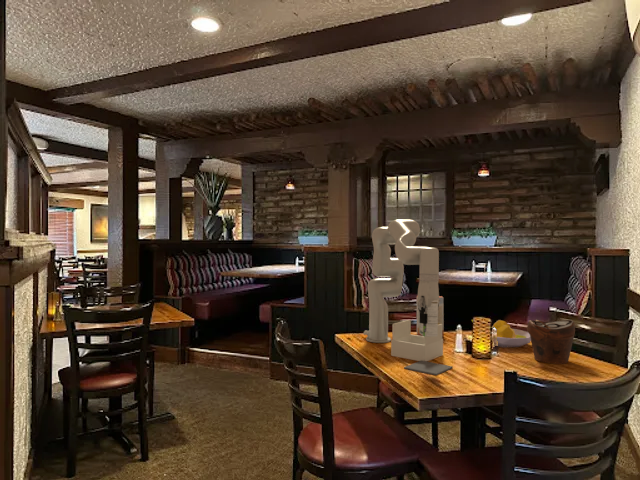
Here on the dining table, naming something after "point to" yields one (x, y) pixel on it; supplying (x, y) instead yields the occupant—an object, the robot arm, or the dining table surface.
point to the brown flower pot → (551, 340)
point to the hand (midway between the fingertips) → (428, 321)
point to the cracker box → (440, 315)
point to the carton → (415, 343)
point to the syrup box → (430, 321)
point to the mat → (428, 367)
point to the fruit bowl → (510, 335)
